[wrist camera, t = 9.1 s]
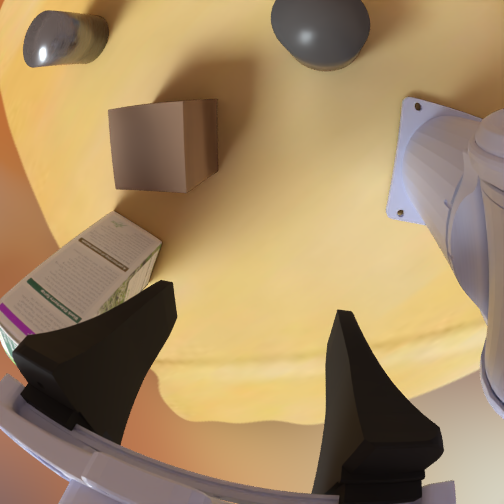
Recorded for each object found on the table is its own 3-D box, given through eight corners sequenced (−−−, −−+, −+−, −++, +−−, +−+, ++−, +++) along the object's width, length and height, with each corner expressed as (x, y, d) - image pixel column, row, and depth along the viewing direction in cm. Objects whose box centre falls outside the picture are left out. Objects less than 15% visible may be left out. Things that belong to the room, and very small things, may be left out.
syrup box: (112, 207, 24) (-18, 306, 11) (166, 241, 24) (47, 370, 12) (103, 254, 27) (1, 351, 15) (150, 286, 27) (57, 403, 15)
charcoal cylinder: (361, 10, 12) (369, -15, 8) (360, 76, 15) (369, 68, 11) (285, 3, 13) (271, -21, 9) (284, 68, 15) (269, 59, 12)
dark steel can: (110, 9, 15) (60, 1, 10) (107, 57, 17) (55, 58, 12) (73, 24, 16) (25, 23, 11) (71, 68, 18) (22, 73, 13)
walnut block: (217, 99, 17) (182, 101, 13) (218, 170, 20) (186, 193, 16) (152, 103, 18) (108, 109, 14) (156, 168, 21) (115, 189, 17)
